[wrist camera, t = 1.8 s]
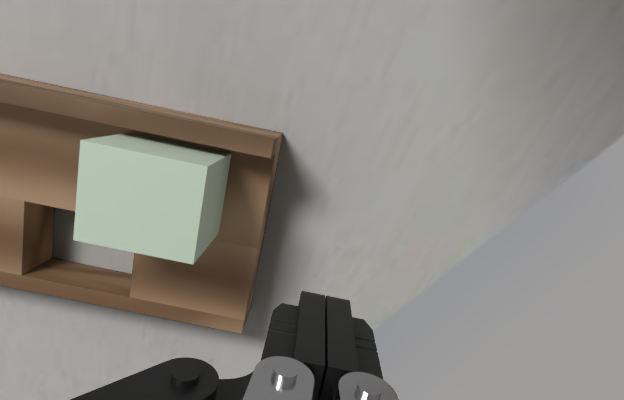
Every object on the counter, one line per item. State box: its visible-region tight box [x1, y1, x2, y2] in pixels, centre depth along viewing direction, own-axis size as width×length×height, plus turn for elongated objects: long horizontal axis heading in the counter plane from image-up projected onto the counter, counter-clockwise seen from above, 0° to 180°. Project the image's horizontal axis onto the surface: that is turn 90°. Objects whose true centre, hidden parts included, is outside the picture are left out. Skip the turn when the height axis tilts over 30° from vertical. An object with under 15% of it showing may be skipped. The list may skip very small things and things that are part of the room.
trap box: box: [0, 74, 283, 334], centre depth 25 cm, size 13×29×6 cm, turn 78°
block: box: [73, 132, 231, 264], centre depth 22 cm, size 5×6×5 cm
